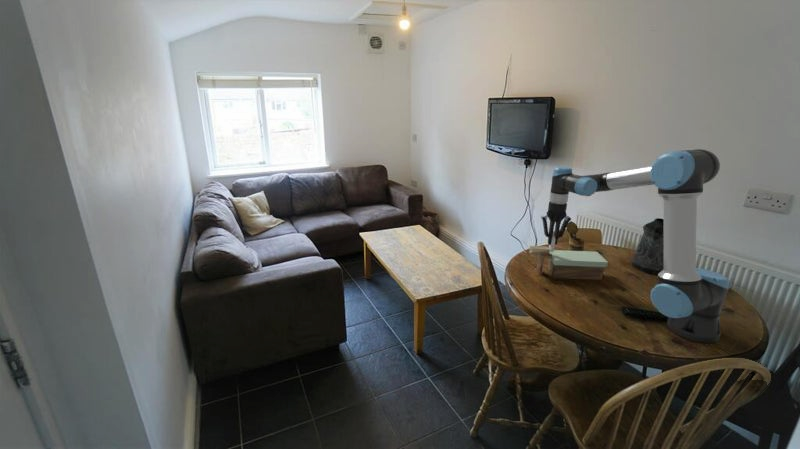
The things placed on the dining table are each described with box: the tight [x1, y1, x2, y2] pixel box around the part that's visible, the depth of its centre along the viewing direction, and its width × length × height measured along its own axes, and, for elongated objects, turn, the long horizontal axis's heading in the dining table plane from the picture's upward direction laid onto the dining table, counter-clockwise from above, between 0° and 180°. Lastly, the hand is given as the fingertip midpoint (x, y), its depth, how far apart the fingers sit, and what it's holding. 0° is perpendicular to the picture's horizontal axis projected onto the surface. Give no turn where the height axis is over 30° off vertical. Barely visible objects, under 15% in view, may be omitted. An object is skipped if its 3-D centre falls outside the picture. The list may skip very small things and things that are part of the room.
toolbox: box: [536, 253, 605, 281], centre depth 177 cm, size 10×28×10 cm, turn 85°
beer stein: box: [631, 217, 664, 275], centre depth 181 cm, size 16×19×25 cm
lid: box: [549, 249, 609, 268], centre depth 176 cm, size 12×23×2 cm, turn 85°
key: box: [528, 245, 549, 255], centre depth 177 cm, size 3×8×3 cm, turn 85°
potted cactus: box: [566, 220, 585, 251], centre depth 194 cm, size 9×14×18 cm, turn 4°
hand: (551, 250), depth 176 cm, fingers closed
